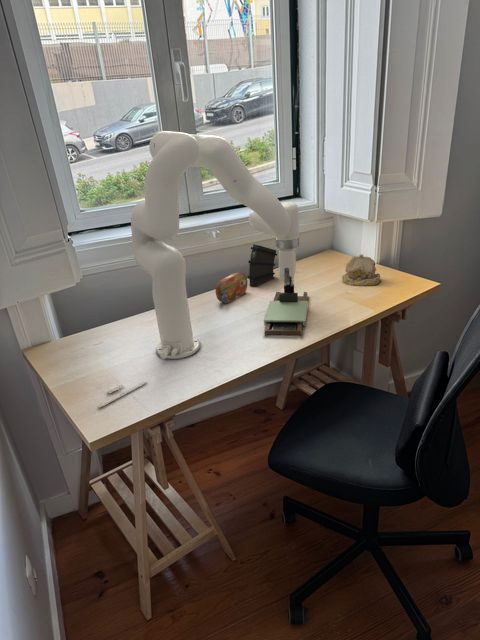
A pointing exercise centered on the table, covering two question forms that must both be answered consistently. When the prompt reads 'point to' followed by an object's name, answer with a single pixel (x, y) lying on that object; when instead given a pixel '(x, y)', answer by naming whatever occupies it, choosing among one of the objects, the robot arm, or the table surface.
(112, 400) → the picture light
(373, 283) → the ceramic model
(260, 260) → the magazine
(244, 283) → the tin
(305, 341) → the table surface
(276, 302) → the lid
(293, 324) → the panel
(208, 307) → the table surface
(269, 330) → the tray
